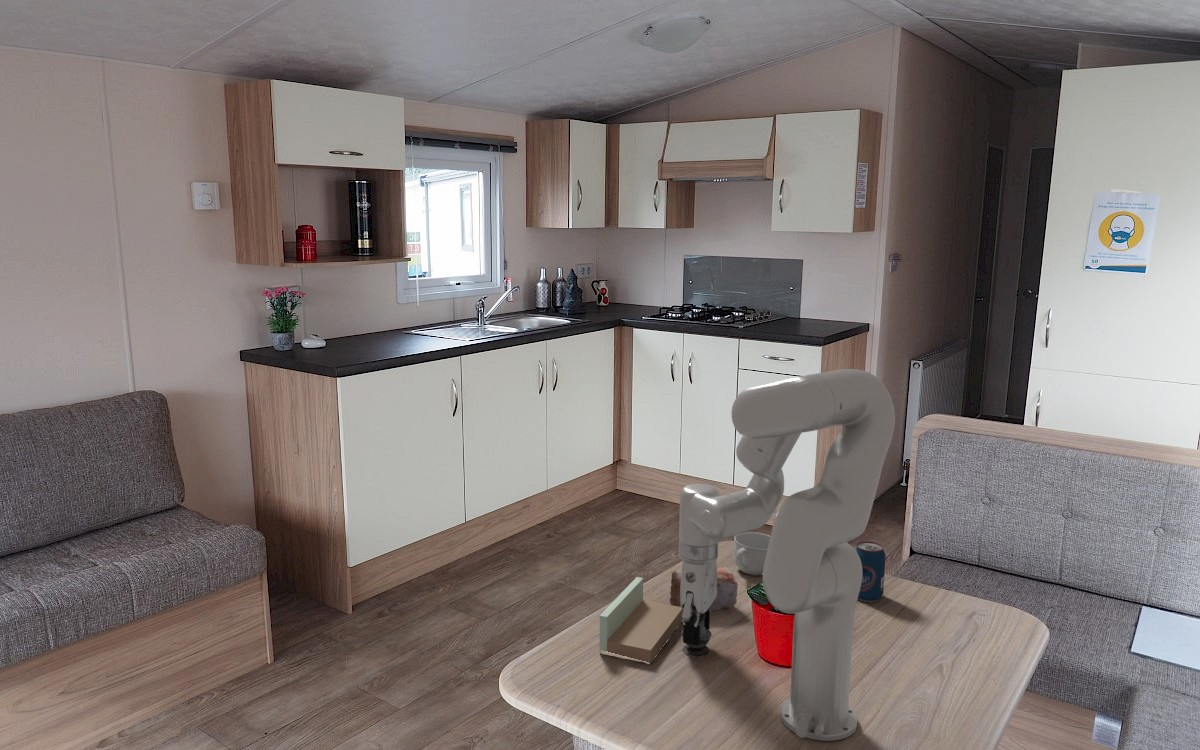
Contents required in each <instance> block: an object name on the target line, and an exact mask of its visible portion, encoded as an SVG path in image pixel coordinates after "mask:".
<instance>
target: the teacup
mask: <svg viewBox="0 0 1200 750" xmlns="http://www.w3.org/2000/svg"><path fill="white" fill-rule="evenodd" d="M770 536H771V534H766V533H762V532H753V531H748V532H745V533H741V534H738V535H736V536H733V540H734V541H733V561H734V564H735V565H736V567H737V568H738V569H739V570H740V571H741V572H743V573H745V574H747V575H750V574H751V575H750V576H756V575H760V576H763V575H762V573H763V568H764V563H765V558H766V554H767V549H768V545H769V541H770Z"/></svg>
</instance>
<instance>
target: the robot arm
mask: <svg viewBox="0 0 1200 750" xmlns="http://www.w3.org/2000/svg"><path fill="white" fill-rule="evenodd" d="M731 406H732V407H731V422H732V424H733V427H734V428H735V430H736V431H737V432H738V433H739V435H741V436H742V437H741V438H740V440H739V442H738V444H737V446H736V448H735V449H736V451H735V454H736V458H737V459H738V461H739V463H740V464H741V465H742V467H744V468H745V469H746V470H748V471H749V472H750V473H752V474H753V475H752V477H751V479H750V481H749V482H748V484H747V486H746V487H745V489H743V490H739V491H735V492H732V493H728V494H724V495H720V493H719V492H720V491H719V490H718V489H717V488H716V487H715V486H713V485H710V484H706V483H705V484H704V483H693V484H687V485H685V486H683V488H682V489H681V490H680V493H679V494H680V496H679V523H678V526H679V527H678V529H679V530H678V531H679V533H678V557H679V558H680V559H681V561H682V563H681V564H682V565H681V569H680V570H681V571H682V572H681V586H680V607H681V609H682V610H683V614H682V617H683V621H682V625H683V627H682V630H683V636H682V642H683V643H684V644H685V645H686V644H691V645H696V646H698V645H699V644H700V625H698V624H699V616H700V612H701V613H702V614H703V613H705V614H706V617H705V618H704V626H705V628H706V629H708V630H709V631H710V626H711V625H710V621H711V620H710V619H711V617H710V616H711V612H710V611H707V610H710V606H711V604H712V603H713V601H714V600H715V598H716V596H717V560H718V558H719V541H720V540H725V539H729V538H732V537H735V536H736V535H738V534H741V533H745V532H753V531H755V530H757V529H758V530H759V529H761V527H764V525H766V523H768V521H769V520H770V519H771V518H772V516H773V514H774V513H775V511H776V509H777V508H778V509H777V511H776V514H775V516H774V519H773V520H774V521H773V524H772V528H771V532H770V541H769V545H768V549H767V554H766V558H765V563H764V568H763V575H762V587H763V591H764V593H765V596H766V597H767V600H768V601H769V603H770V605H772V606H773V608H775V609H776V610H778V611H780V612H781V613H785V614H792V615H793V614H794V619H793V629H792V631H793V632H792V652H791V653H792V655H791V657H792V658H791V674H790V675H791V676H790V677H791V678H790V696H789V698H787V699H786V700H784V701H783V702H782V703H781V706H780V709H779V716H780V720H781V722H782V724H783V725H785V727H787V728H788V729H789V730H790V731H792V732H793V733H795V734H796V735H797V736H798V737H799V738H803V739H804V738H806V739H810V740H815V741H820V742H821V741H822V742H834V741H840V740H843V739H844V740H845V739H846V738H848V737H850V736H851V735H853V734H854V733H855V732H856V731H857V729H858V728H857V727H858V716H857V714H856V712H855V711H854V710H853V709H852V708H851V706H849V699H850V686H851V685H850V684H851V667H852V648H853V638H854V637H853V636H854V625H855V615H856V614H855V613H856V608H857V607H856V606H857V602H858V595H859V591H860V587H861V583H862V563H861V560H860V557H859V555H858V553H857V552H856V550H855V548H854V547H853V546H852V545H851V544H849V543H848V542H850V541H853V540H855V539H857V538H858V537H860V536H861V535H862V534H863V533H864V532H865V530H866V528H867V526H868V522H869V519H870V517H871V512H872V509H873V505H874V501H875V498H876V494H877V490H878V486H879V483H880V478H881V474H882V470H883V466H884V463H885V461H886V457H887V453H888V451H889V448H890V446H891V442H892V438H893V435H894V431H895V424H896V412H895V406H894V403H893V399H892V396H891V394H890V392H889V391H888V389H887V387H886V386H885V384H884V383H883V382H882V380H880V378H879V377H877V376H876V375H874V374H872V373H871V372H868V371H867V370H862V369H856V368H854V369H853V368H843V369H837V370H830V371H824V372H817V373H812V374H806V375H800V376H795V377H791V378H787V379H782V380H778V381H774V382H771V383H766V384H762V385H761V384H760V385H754V386H750V387H747V388H745V389H744V390H742V391H740V393H739V394H738V395H737V396H736V398H735V399H734V402H733V403H732V405H731ZM837 426H841V429H840V431H839V433H838V434H837V435H836V437H835V439H834V441H833V442H832V444H831V445H830V447H829V449H828V451H827V454H826V457H825V460H824V467H823V470H822V473H821V476H820V479H819V481H818V483H817V484H815V486H813V487H810V488H807V489H803V490H800V491H798V492H794V493H793V494H791V495H790V496H789V495H788V497H786V499H784V501H782V498H783V496H784V493H785V476H784V472H783V467H784V464H785V463H786V461H787V459H788V458H789V456H790V454H791V453H792V450H793V449H794V447H795V445H796V443H797V442H798V440H799V438H800V436H801V435H802V434H803V433H809V432H814V431H818V430H824V429H828V428H829V429H830V428H832V427H837ZM781 501H782V503H781V504H780V502H781ZM779 504H780V506H779ZM778 506H779V507H778ZM692 606H695V607H696V609H692ZM691 612H692V613H696V614H695V619H694V617H693V616H691Z"/></svg>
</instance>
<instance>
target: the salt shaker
mask: <svg viewBox="0 0 1200 750" xmlns="http://www.w3.org/2000/svg"><path fill="white" fill-rule="evenodd" d="M692 609H696V607H695V606H692ZM695 614H696V613H692V612H691V616H693V617H694V619H695ZM705 617H706V614H705V613H703V614H702V613H701V612H700V616H699V624H698V625H700V644H699V645H698V646H696V645H691V644H686V643H685V644H684V646H683V647H682V652H683V651H684V652H685V653H686V654H685V653H684V652H683V653H684V654H685V655H687V654H688V655H687V656H689V655H691V656H690V657H694V656H695V657H696V658H698V657H699V658H700V657H706V656H707V655H709V654H710V648H709V646H708V644H709V642H710V639H711V637H712V632H711V630H710V629H709V630H708V629H706V628H705V626H704V618H705ZM680 634H681V635H682V637H683V629H682V630H681V633H680Z"/></svg>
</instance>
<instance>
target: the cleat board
mask: <svg viewBox="0 0 1200 750" xmlns="http://www.w3.org/2000/svg"><path fill="white" fill-rule="evenodd" d="M682 614H683V610H682V609H681V607H678V606H673V605H671V604H666V603H660V602H656V601H650V600H646V599H645V600H644V577H639V576H636V577H635V578H634V579H633V580H632V581H631V582H630V583H629V584H628V586H627V587H626V588H625V589H624V590H623V591H622V592H621V593H620V594H619V595H618V596H617V597H616V598H615V599H613V601H612V602H611V603H609V606H608V607H606V608H605V610H603V612H602V613H601V614H600V615H599V651H600V650H603V651H608V652H611V653H615V654H619V655H622V656H627V657H630V658H634V659H638V660H642V661H646V662H649V663H651V662H652V661H653V659H654V658H655V656H656V655H657V654H658V652H659V651H660V649H661V648H662V647H663V645H664V644H665V643H666V641H667V640H668V639H669V638H670V636H671V635H672V634H673V632H674V631H675V630H676V631H677V629H678V628H679V627H680V625H681V624H682V623H683V621H682V620H683V617H682ZM681 622H682V623H681ZM680 623H681V624H680ZM679 624H680V625H679ZM678 626H679V627H678ZM677 627H678V628H677ZM676 628H677V629H676ZM676 631H675V632H676ZM675 632H674V633H675ZM673 635H674V634H673ZM673 635H672V636H673ZM672 636H671V637H672ZM670 639H671V638H670ZM670 639H669V640H670ZM669 640H668V641H669ZM666 644H667V643H666ZM666 644H665V645H666ZM663 648H664V647H663ZM660 652H661V651H660ZM658 655H659V654H658ZM658 655H657V656H658ZM655 659H656V658H655ZM655 659H654V660H655ZM653 662H654V661H653ZM653 662H652V663H653Z"/></svg>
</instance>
